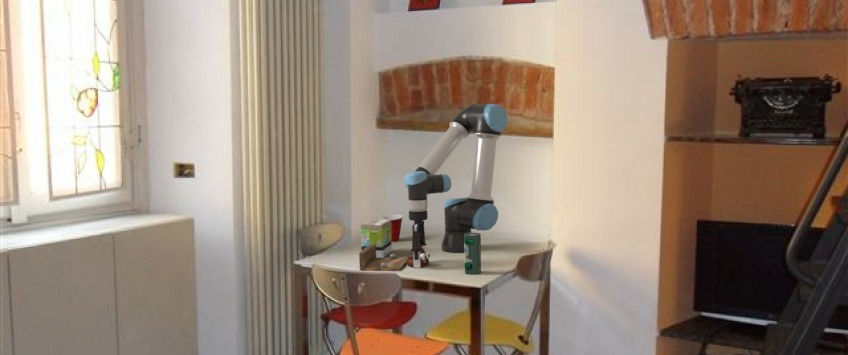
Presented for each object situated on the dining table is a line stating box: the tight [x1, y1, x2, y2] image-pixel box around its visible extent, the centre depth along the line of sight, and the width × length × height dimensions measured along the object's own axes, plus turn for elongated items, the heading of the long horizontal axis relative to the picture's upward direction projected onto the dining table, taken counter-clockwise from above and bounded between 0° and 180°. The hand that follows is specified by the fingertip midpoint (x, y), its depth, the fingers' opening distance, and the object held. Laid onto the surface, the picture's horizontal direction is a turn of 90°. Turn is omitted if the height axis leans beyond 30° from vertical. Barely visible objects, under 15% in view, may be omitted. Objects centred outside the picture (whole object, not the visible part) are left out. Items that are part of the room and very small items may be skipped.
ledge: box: [358, 243, 408, 272], centre depth 303 cm, size 16×20×7 cm
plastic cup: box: [380, 214, 404, 243], centre depth 356 cm, size 11×11×12 cm
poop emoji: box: [406, 244, 431, 268], centre depth 301 cm, size 10×8×9 cm
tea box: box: [360, 219, 393, 258], centre depth 323 cm, size 15×10×15 cm, turn 168°
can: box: [463, 232, 482, 275], centre depth 285 cm, size 6×6×15 cm
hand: (419, 264), depth 302 cm, fingers closed on poop emoji, 10 cm apart
